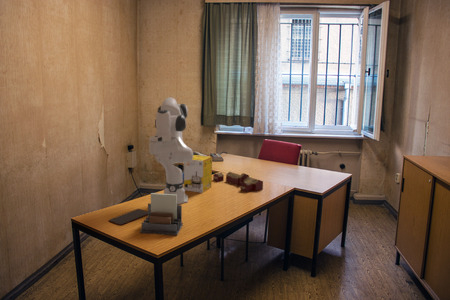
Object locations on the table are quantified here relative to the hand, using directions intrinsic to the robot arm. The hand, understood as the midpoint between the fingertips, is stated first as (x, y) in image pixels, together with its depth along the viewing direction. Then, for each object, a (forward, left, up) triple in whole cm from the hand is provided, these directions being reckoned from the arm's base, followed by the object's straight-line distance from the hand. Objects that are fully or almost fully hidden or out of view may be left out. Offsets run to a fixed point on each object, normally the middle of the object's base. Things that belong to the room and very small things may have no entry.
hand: (164, 160), depth 219 cm
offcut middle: (+15, +2, -35) cm, 38 cm away
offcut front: (+19, +2, -35) cm, 40 cm away
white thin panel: (+11, +2, -35) cm, 37 cm away
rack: (+15, +2, -37) cm, 40 cm away
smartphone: (+1, -22, -38) cm, 43 cm away
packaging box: (-66, +9, -37) cm, 76 cm away
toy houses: (-83, +39, -37) cm, 99 cm away
